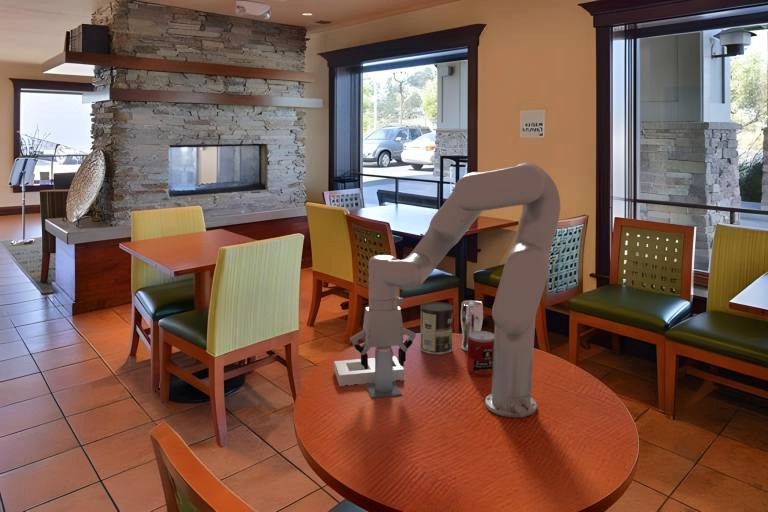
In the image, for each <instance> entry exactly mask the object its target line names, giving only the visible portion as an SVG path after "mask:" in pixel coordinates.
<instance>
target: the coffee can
mask: <svg viewBox="0 0 768 512" xmlns="http://www.w3.org/2000/svg"><path fill="white" fill-rule="evenodd" d="M453 312H454V306H453V305H452V304H450V303H447V302H440V301H431V302H424V303H421V305H420V343H419V344H420V346H419V350H420V351H422V352H423V353H425V354H429V355H446V354H449V353H451V352H452V351H453V321H454V319H453V318H454V317H453V315H454V313H453Z"/></svg>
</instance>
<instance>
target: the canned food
mask: <svg viewBox="0 0 768 512" xmlns="http://www.w3.org/2000/svg"><path fill="white" fill-rule="evenodd" d="M493 349H494V333H493V332H490V331H486V330H481V331H473V332H471V333H469V336H468V351H467V364H466V365H467V368H466V369H467V371H468V373H469V374H470V375H472V376H475V377H481V378H482V377H483V378H484V377H489V376H492V373H493Z"/></svg>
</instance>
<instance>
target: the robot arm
mask: <svg viewBox="0 0 768 512" xmlns="http://www.w3.org/2000/svg"><path fill="white" fill-rule="evenodd" d="M454 185H455V186H454V189H453V190H452V192H451V193H450V194H449V196H448V197H447V199H446V200H445V201H444V203H443V204H442V206H440V207H439V209H438V210H437V212H436V213H435V214H434V215H433V216H432V217H431V220H430V223H429V227H428V228H427V230H426V232H425V234H424V235H423V237H422V238H421V239H420V240H419V242H418V243H417V244H416V245H415V247H414V249H412V251H411V252H410V253H409V254H408V256H406V257H405V258H402V259H400V260H398V259H397V257H396V256H394V255H388V254H376V255H374V256H371V257H370V258H369V260H368V306H366V307H365V309H364V316H363V325H362V328H363V329H362V330H361V331H359V332H357V333H355V334H353V335H352V336H350V338H349V340H350V342H351V343H352V345H353V347H354V349H355V350H357V352H359V353H360V359H361V365H363V366H364V368H365V369H368V358H369V356H368V352H369V350H370V349H371V348H376V347H387V346H391V347H395V346H398V347H399V348H398V352H397V355H398V356H397V357H398V358H397V359H398V362H399V364H400V365H401V366H402V367H404V366H405V364H404V363H406V360H407V358H406V356H407V355H406V353H407V351H408V349H409V348H410V347H411V346H412V345H413V342H414V341H415V338H416V336H417V334H416V333H415V332H414V331H413V330H409V329H407V328H405V327H404V325H403V324H404V323H403V316H402V310H401V307H400V306H399V305H400V304H403V303H404V298H403V297H399V288H400V289H403V290H415V289H418V288H419V287H420V286H421V285H423V283H424V282H425V281H426V280H427V279H428V278H429V277H430V275H431V274H432V273H433V271H434V270H435V269H437V267H438V265H439V264H440V263H441V262H442V260H443V259H444V258H445V256H446V255H447V254H448V252H450V250H451V249H452V248H453V247H454V246H455V245H456V244H458V243H459V241H460V240H461V239H462V238H463V236H464V235H465V234H466V233H467V231H468V230H469V228H470V227H471V226H472V225H473V224H474V222H475V221H476V220H477V219H478V218H479V216H480V215H481V214H483V211H491V210H497V209H503V208H505V209H506V208H510V207H515V206H522V209H521V215H520V218H519V222H518V227H517V231H516V235H515V237H514V241H513V244H512V246H511V249H510V250H509V253H508V254H507V257H506V259H505V261H504V266H503V270H502V274H501V277H500V280H499V284H498V288H497V291H496V294H495V298H494V302H493V305H492V310H491V315H492V319H493V323H494V333H493V334H494V349H493V373H492V375H491V378H492V379H491V393H489V394H488V395H487V396H486V397H485V399H484V405H485V407H486V408H487V410H489V411H490V412H491V413H494V414H496V415H498V416H502V417H505V418H525V417H529V416H532V415H533V414H535V413H536V411H537V407H538V406H537V402H536V401H535V399H534V398H533V397H531V396H532V383H533V382H532V380H533V363H534V348H535V347H534V345H535V329H536V316H537V313H538V309H539V306H540V303H541V299H542V296H543V293H544V290H545V286H546V282H547V280H548V274H549V271H550V270H549V268H550V253H551V251H552V246H553V243H554V240H555V236H556V232H557V227H558V224H559V221H560V214H561V198H560V192H559V190H558V187H557V185H556V183H555V181H554V180H553V178H552V177H551V176H550V175H549V174H548V173H547V171H545V170H544V169H543V168H542V167H540V166H539V165H537V164H535V163H532V162H524V163H523V162H522V163H520V164H517V165H516V166H511V167H504V168H500V169H495V170H489V171H483V172H480V171H472V172H468V173H467V174H465V175H463V176H462V177H460V178H459V179H458V180H457V182H456V183H455V184H454ZM404 335H406V336H408V338H407V339H406V340H405V341H404ZM361 339H362V341H363V344H362V345H360V344H359V342H358V341H359V340H361Z"/></svg>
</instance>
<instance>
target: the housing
mask: <svg viewBox="0 0 768 512" xmlns="http://www.w3.org/2000/svg"><path fill="white" fill-rule="evenodd" d="M334 374H335V376H336V377H335V378H336V380H337V382H338V385H339V387H344V386H345V385H348V386H355V385H354V384H358V385H366V384H367V383H369V384H371V383H375V357H370V358H369V357H368V369H365V368H364V366H363V365H361V358H357V359H345V360H334ZM396 380H400V381H405V369H404V366H401V365H400V364H399V362H398V358H397V356H396V355H393V365H392V381H395V382H397V381H396ZM345 387H346V386H345Z"/></svg>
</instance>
